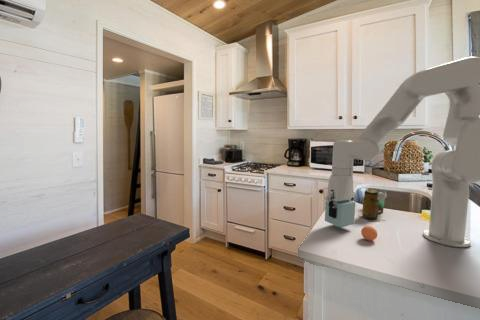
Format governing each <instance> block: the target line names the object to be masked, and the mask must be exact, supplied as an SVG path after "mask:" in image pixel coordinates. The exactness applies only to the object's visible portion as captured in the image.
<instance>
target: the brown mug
mask: <svg viewBox="0 0 480 320" xmlns="http://www.w3.org/2000/svg"><path fill="white" fill-rule="evenodd" d="M363 195H364V196H363V198H362V199H363V200H362V213H361V214H357V216H358V217H360V218H363V219H365V220H367V221H370V222H383V221H385V219H384V218H382V217H378V215H379V214H378V202H379V199H378V192H376V191H371V190H368V189H367V190H364V194H363Z"/></svg>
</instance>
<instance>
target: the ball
mask: <svg viewBox="0 0 480 320" xmlns="http://www.w3.org/2000/svg"><path fill="white" fill-rule="evenodd" d="M360 232H361V234H360V235H361V236H362V238H363V239H364V240H367V241H370V242H371V241H375V240H377V237H378V231H377V229H376V228H375V227H373V226H371V225H365V226H363V227H362V228H361V231H360Z"/></svg>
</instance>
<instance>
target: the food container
mask: <svg viewBox="0 0 480 320" xmlns="http://www.w3.org/2000/svg"><path fill="white" fill-rule="evenodd" d="M367 190H371V191H376V192H378V199H379V202H378V215H381V214H382V215H383V213H384V208H385V203H386V200H385V199H386V198H387V197H388V196H387V192H386V191H384V190H382V189H380V188H379V189H378V188H368V189H367Z"/></svg>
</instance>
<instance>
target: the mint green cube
mask: <svg viewBox="0 0 480 320" xmlns="http://www.w3.org/2000/svg"><path fill="white" fill-rule="evenodd" d="M334 200H335V199H334ZM332 203H333V204H334V201H333V202H332ZM324 205H325V207H324V222H327V223H329V224H332V225H334V226H336V227H338V228H344V227H348V226H351V225H355V215H356V202H355V201H354V200H353V201H348V200H346V201H340V202H338V203H337V205H336V208H337V213H336V218H332V217H330V216H329V206H328V204H327V203H326V202H325V204H324Z"/></svg>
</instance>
